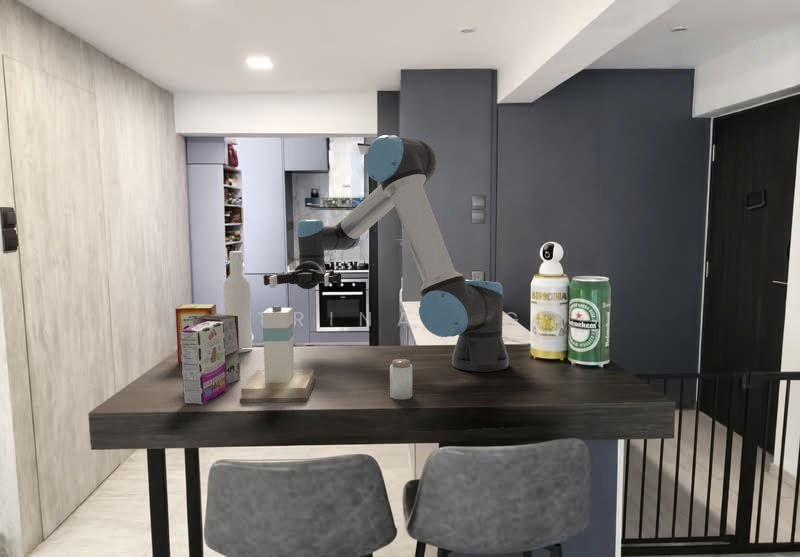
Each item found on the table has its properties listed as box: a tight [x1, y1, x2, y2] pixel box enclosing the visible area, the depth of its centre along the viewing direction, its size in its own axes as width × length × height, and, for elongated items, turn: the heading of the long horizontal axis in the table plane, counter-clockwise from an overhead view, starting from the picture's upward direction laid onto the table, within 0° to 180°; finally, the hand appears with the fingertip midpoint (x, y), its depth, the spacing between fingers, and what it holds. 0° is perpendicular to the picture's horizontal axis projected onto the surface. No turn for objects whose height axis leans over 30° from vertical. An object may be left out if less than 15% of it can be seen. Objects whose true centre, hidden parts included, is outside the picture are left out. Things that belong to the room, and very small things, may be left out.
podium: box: [239, 368, 317, 403], centre depth 141 cm, size 15×17×3 cm
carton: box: [262, 305, 295, 383], centre depth 140 cm, size 6×7×17 cm
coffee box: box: [193, 313, 241, 385], centre depth 150 cm, size 9×6×16 cm
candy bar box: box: [180, 321, 228, 405], centre depth 136 cm, size 11×5×16 cm, turn 168°
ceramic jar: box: [389, 358, 413, 400], centre depth 136 cm, size 5×5×8 cm
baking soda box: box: [175, 303, 217, 365], centre depth 169 cm, size 10×6×16 cm
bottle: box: [223, 250, 253, 354], centre depth 183 cm, size 8×8×30 cm
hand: (298, 281), depth 151 cm, fingers open, 13 cm apart
